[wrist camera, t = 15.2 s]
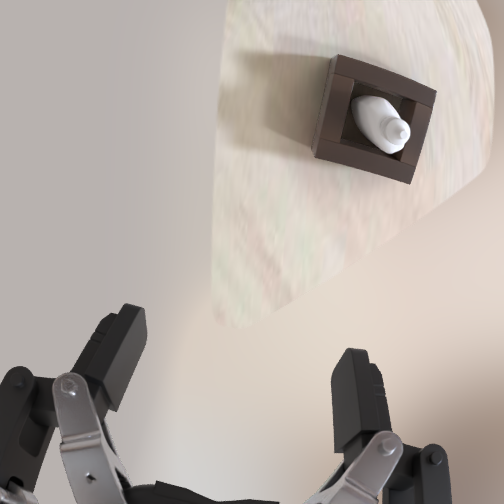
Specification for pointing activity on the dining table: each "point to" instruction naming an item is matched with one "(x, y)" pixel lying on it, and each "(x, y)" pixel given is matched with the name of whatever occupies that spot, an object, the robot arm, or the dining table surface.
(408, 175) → the holder
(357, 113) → the eye dropper bottle
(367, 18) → the dining table surface
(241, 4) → the dining table surface
